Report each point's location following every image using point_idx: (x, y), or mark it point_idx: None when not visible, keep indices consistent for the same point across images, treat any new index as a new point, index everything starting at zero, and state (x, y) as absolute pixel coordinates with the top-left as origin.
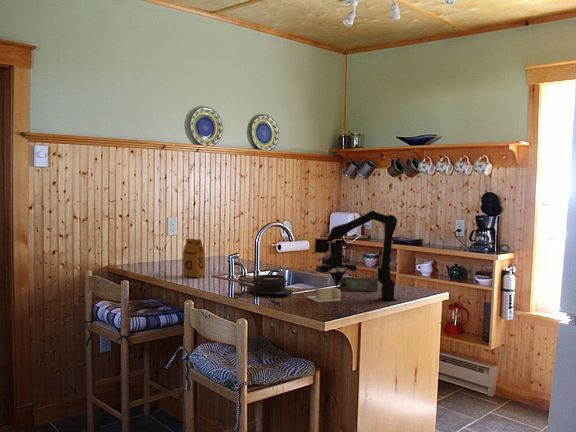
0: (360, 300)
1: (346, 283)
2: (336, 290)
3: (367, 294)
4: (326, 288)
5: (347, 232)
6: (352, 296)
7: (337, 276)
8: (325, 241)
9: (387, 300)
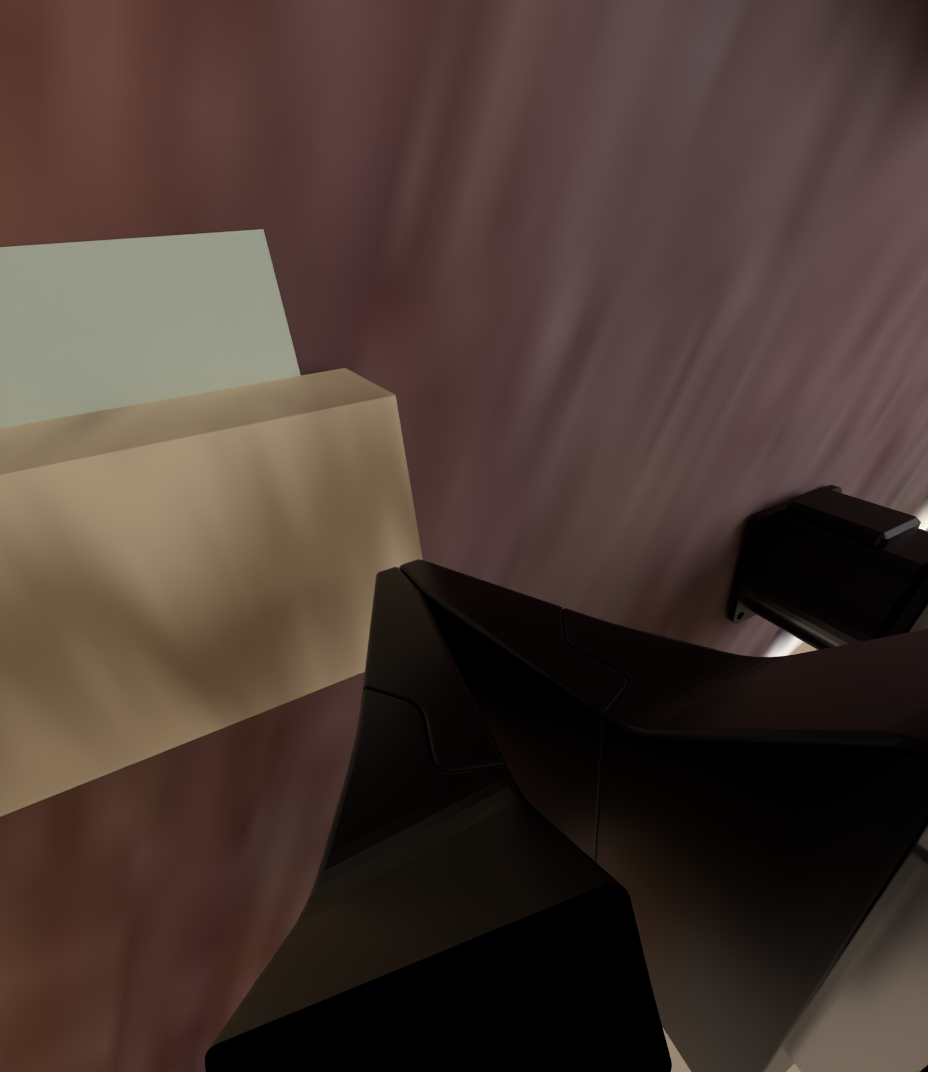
0: (579, 599)
1: None
2: (348, 673)
3: (813, 248)
4: (111, 485)
5: None
6: (608, 357)
7: (516, 961)
8: None
9: (744, 616)
